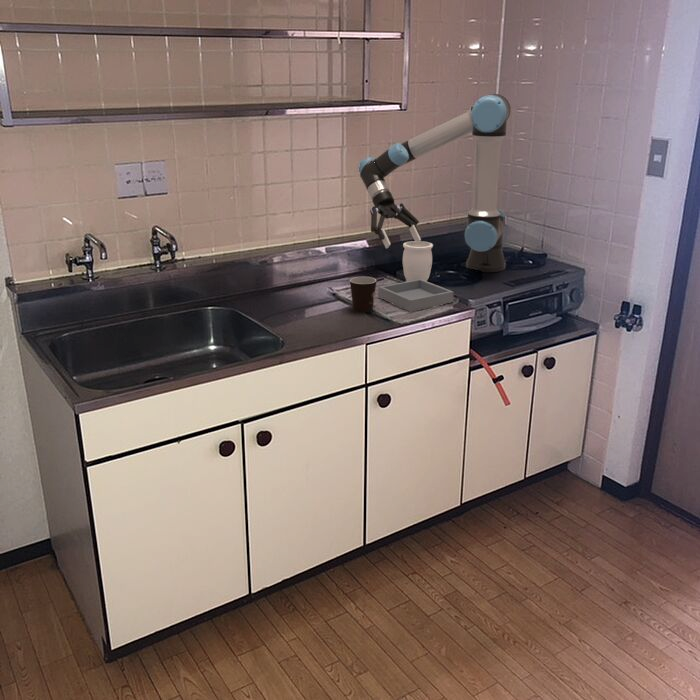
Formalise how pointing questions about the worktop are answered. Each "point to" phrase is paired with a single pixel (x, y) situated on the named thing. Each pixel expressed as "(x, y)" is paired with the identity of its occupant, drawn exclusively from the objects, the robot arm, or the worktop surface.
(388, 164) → the robot arm
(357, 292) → the coffee mug
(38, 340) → the worktop surface
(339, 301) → the worktop surface
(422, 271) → the jar
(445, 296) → the tray
